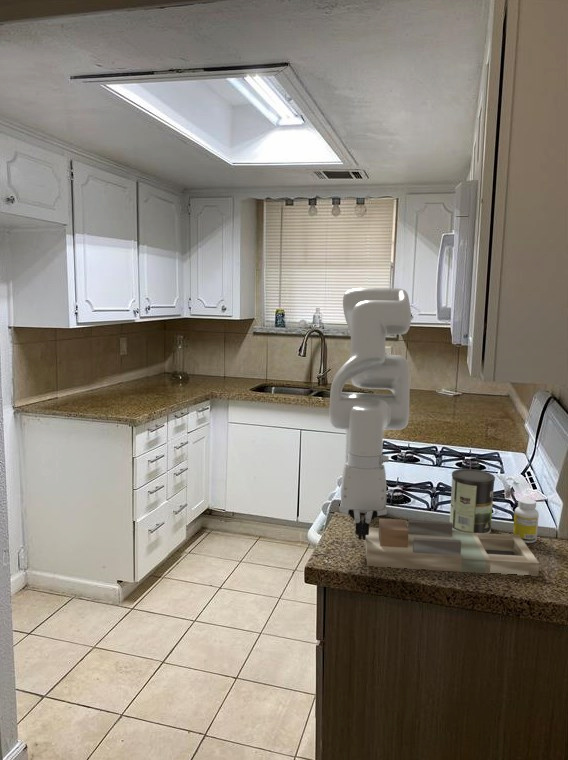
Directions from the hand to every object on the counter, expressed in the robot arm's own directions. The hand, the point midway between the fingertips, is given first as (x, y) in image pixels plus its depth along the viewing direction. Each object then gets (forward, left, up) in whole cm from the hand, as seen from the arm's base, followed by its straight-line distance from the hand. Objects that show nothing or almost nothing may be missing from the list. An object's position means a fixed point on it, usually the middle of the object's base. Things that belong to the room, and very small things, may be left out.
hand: (361, 537), depth 132 cm
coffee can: (-17, +28, -4) cm, 33 cm away
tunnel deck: (0, +19, -4) cm, 19 cm away
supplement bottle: (-12, +40, -4) cm, 42 cm away
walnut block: (0, +7, 0) cm, 7 cm away
